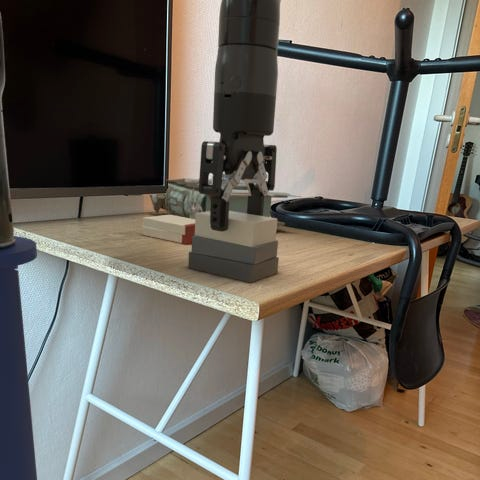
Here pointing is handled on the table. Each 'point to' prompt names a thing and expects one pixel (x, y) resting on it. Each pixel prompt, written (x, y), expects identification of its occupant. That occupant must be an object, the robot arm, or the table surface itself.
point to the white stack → (169, 228)
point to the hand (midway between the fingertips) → (237, 226)
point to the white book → (239, 229)
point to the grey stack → (233, 259)
